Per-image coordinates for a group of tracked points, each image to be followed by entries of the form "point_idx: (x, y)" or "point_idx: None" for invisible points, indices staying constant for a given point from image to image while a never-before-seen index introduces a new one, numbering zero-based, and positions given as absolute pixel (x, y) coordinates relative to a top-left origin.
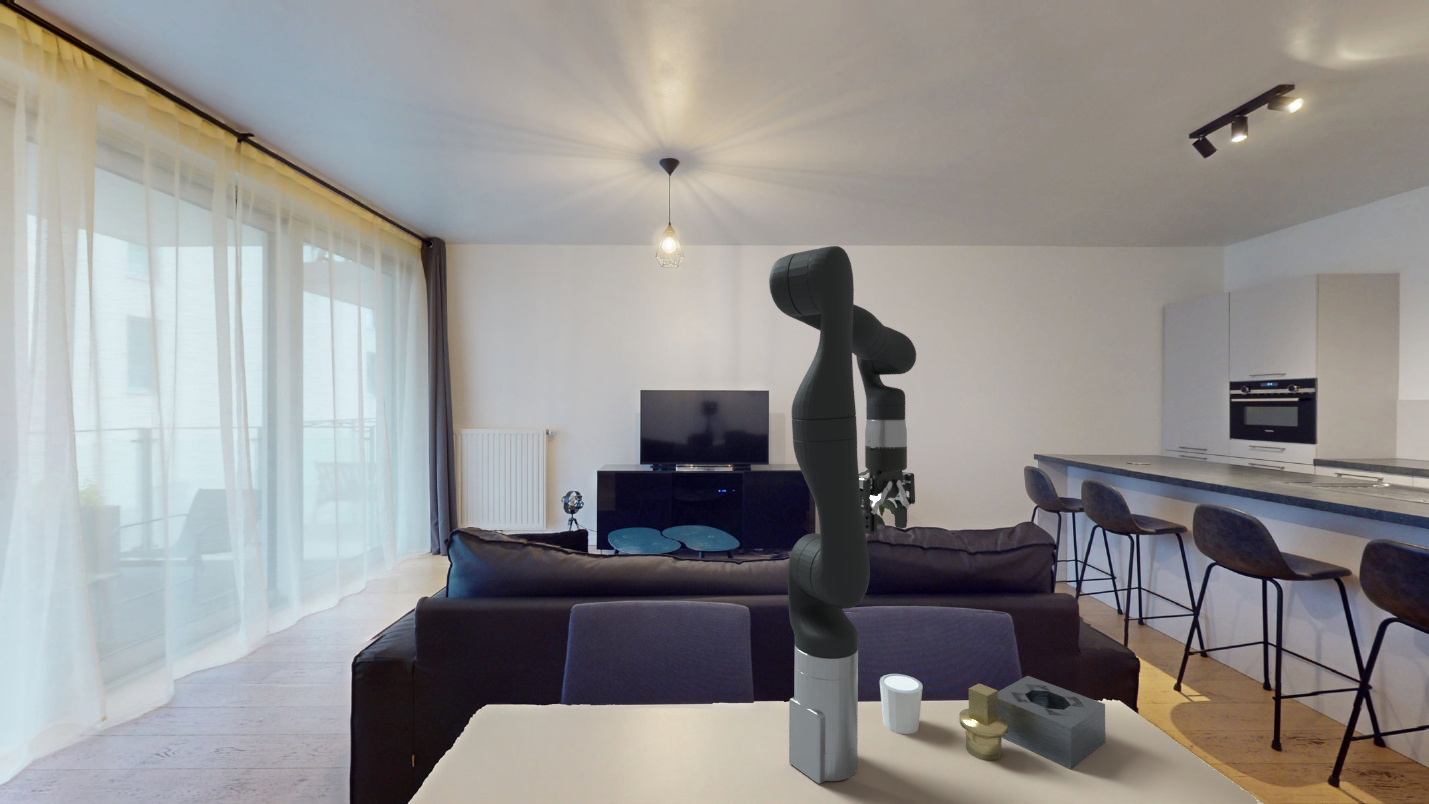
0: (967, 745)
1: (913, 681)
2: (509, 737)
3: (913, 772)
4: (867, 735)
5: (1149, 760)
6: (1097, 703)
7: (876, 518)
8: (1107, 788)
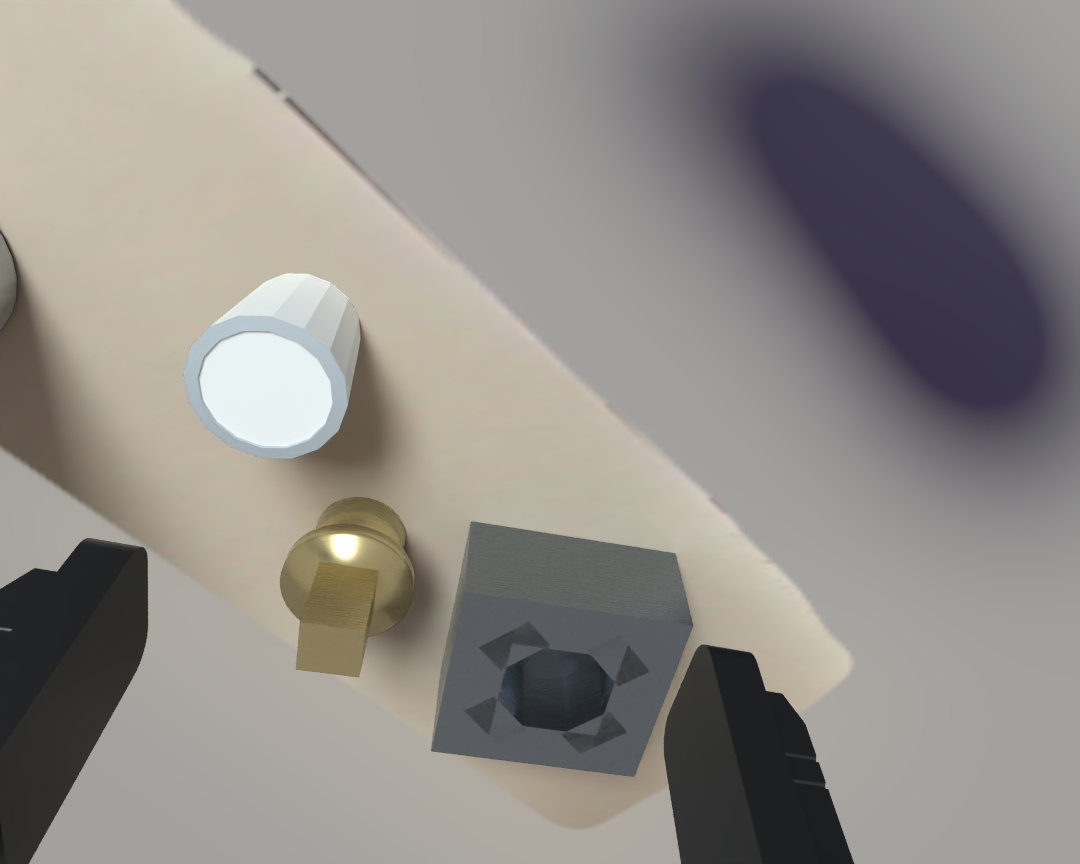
0: (324, 516)
1: (318, 415)
2: None
3: (116, 449)
4: (155, 278)
5: None
6: (623, 766)
7: (36, 829)
8: (423, 724)
